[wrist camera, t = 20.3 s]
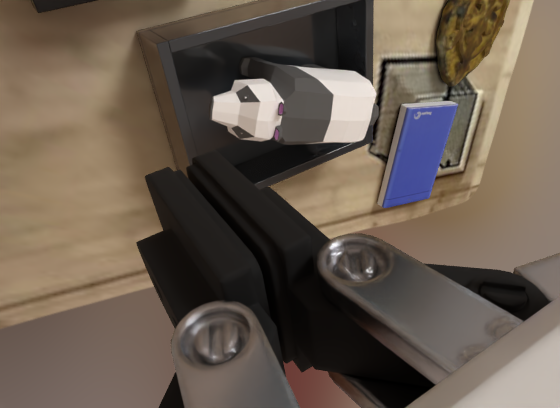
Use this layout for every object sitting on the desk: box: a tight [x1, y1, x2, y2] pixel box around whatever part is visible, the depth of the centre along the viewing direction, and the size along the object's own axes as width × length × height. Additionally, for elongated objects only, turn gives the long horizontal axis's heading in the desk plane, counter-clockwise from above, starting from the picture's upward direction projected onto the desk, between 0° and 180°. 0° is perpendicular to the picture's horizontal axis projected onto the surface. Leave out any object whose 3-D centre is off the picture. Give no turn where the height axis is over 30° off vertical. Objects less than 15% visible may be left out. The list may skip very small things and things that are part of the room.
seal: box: [436, 0, 510, 86], centre depth 46 cm, size 9×5×15 cm
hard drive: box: [377, 101, 458, 208], centre depth 53 cm, size 2×8×12 cm
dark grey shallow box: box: [136, 0, 374, 190], centre depth 37 cm, size 18×14×5 cm
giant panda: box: [208, 57, 379, 145], centre depth 34 cm, size 15×6×10 cm, turn 79°
